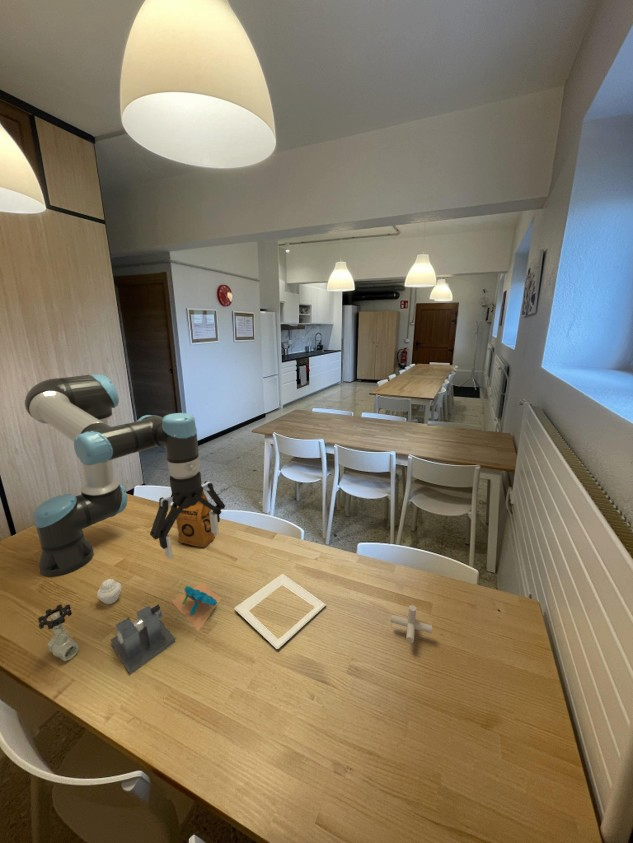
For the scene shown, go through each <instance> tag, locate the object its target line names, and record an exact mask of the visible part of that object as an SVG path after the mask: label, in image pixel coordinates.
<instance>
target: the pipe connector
mask: <svg viewBox="0 0 633 843" xmlns="http://www.w3.org/2000/svg"><path fill="white" fill-rule="evenodd" d="M407 613H408V614H407V618H405V617H401V616H399V615H393V614H391V617H390V623H393V624H395V625H399V626H403V627H406V638H405V640H406V642H407V643H409V644H414V642H415V630H418V631H422V632H425V633H428V634H432V631H433V626H432V624H429V623H424V622H421V621H416V617H417V615H416V614H417V607H416V606H415V605H414V604H411V605H409V606H408V612H407Z"/></svg>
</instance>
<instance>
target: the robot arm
mask: <svg viewBox="0 0 633 843" xmlns="http://www.w3.org/2000/svg"><path fill="white" fill-rule="evenodd" d="M119 400H120V398H119V394H118V391H117V388H116V386H115V384H114V383H113V381H112V380H111V379H110V378H109V377H108V376H106V375H103V374H85V375H76V376H67V377H59V378H58V377H57V378H56V377H55V378H49V379H46V380H45V379H44V380H42V381H40V382H38V383H37V384H35V385H34V386H33V387H31V389H30V390H29V391H28V392H27V394H26V396H25V399H24V406H25V411H26V412H27V413H28V415H30V417H31V418H33V419H34V420H35V421H37V422H39V423H42V424H46V425H47V424H48V425H49V426H51V427H53V429H55V430H57V431H58V432H60V433H61V434H63V436H65V437H66V438H68V439H69V440H71V442H73V447H74V452H75V455H76V456H77V458H79V462H81V463H82V469H83V474H84V482H85V483H83V485H82V486H81V488H80V493H81V494H78V495H76V496H75V495H74V494H71V493H65V494H63V495H61V494H59V495H56V496H53V497H51V498H48V499H47V500H45V501H44V502H42V503H41V504H39V505H38V506H37V507H36V508H35V510H34V511H33V519H34V522H33V524H34V526H35V528H36V533H37V536H38V539H39V544H40V547H41V553H40V554H41V555H40V560H39V563H38V564H39V565H38V567H39V571H40V573H41V575H42V576H44V577H47V578H55V577H56V578H57V577H61V576H65V575H69V574H71V573H73V572H76V571H78V570H79V569H82V568H83V567H85V566H86V565H87V564H89V562H90V561H92V560H93V557H94V555H95V552H94V549H93V546H92V545H91V543H90V542H89V540H88V539H87V537H85V535H84V529H86V528H89V527H91V526H92V525H95V524H97V523H100V522H102V521H104V520H105V521H106V520H107V519H109V518H112V517H115V516H116V515H118V514H121V513H122V512H124V511H125V509H126V508H127V506H128V493H127V492H126V490H127V489H126V488H125V486H124V485H123V484H122V483H121V482H119V480H117V478H115V477H114V469H113V460H116V459H118V458H122V457H124V456H125V457H126V456H128V455H131V454H135V453H139V452H141V451H146V450H148V449H152V448H155V447H159V448H162V449H164V450H165V453H166V461H167V468H168V476H169V484H170V491H171V494H170V496H169V497H166V498H164V497H160V498H159V500H158V504H159V505H158V509H157V512H156V516H155V518H154V521H153V524H152V527H151V529H150V530H151V531H150V533H149V536H151V537H152V539H153V540H158V541H159V546H160V547H161V548H162V549H163V550H164V555H165V556H166V558H168V560H172V559H174V555H173V549H172V541H171V535H169V533H170V531H171V529H172V527H173V526H174V524H175V522H176V519H177V517H178V515H179V514H180V513H181V512H182V510H183V509H187V508H189V507H190V506H194V505H196V503H197V502H198V501H199V502H200V503H202V504H203V505H205V506H206V507H208V508H209V509H211V512H209V514H210V524H211V532H212V533H213V534H214V536H219V534H220V533H219V523H220V521H221V519H220V517H221V516H220V515H221V514H222V510H224V509H225V508H226V505H225V503H224V502H223V500H222V499H221V497H220V496H219V495H218V493H217V492H216V490H215V489H214V485H213V483H211V482H210V481H208V480H205V481H204V483H203V484H202V482H203V481H202V474H201V465H200V457H199V456H200V455H199V444H198V442H199V441H198V434H197V433H198V429H197V426H196V420H195V417H194V415H192V414H191V413H187V412H177V413H176V412H175V413H169V414H167V415H164V416H163V417H162V416H160V415H155V414H154V415H153V414H152V415H151V414H146V415H143V416H141V417H140V418H139V419H137V420H136V421H133V422H128V423H123V424H118V425H114V426H111V425H109V421H108V420H109V419H110V418H111V417H112V416H113V411H112V410H113V409H115V408H116V407H117V406H119V403H120V401H119ZM203 491H205V492H206V493H207V494H208V496H209V497H210V498H211V499H212V501H213V502H214V504H215V505H214V504H212V503H211V502H210V501H209V500H208V501H206V500H205V499H203V498H202V497H200V496H201V494H202V492H203ZM171 503H172V505H171ZM177 506H179V507H178V508H177ZM169 508H170V510H169Z"/></svg>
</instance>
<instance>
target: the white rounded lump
mask: <svg viewBox="0 0 633 843" xmlns="http://www.w3.org/2000/svg"><path fill="white" fill-rule="evenodd" d="M121 591H122V584H121V583H120V582H118V581H115V579H113V578H107V579H106V580H104V581H103V582H102V583H101V584H100V587H99V589H98V590H97V592H96V595H97V598H98V599H99V601H101V602H102V603H104V604H105V605H111V604H114V603H115V602H116V601H117V600H118V599H119V596H120V595H121V594H120V593H121Z"/></svg>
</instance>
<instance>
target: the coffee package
mask: <svg viewBox="0 0 633 843" xmlns="http://www.w3.org/2000/svg"><path fill="white" fill-rule="evenodd" d="M204 491H205V490H203V492H202V494H201V496H200V497H202V498H203V499H205V500H206V501H208V502H209V500H208V498H207V495H206V494H205V492H204ZM178 507H179V506H177V508H178ZM211 511H212V510H211V509H209V508H208V507H206V506H205V505H203V504H202V503H200V502H199V501H198V502H197V503H196V505H194V506H190V507H189V508H187V509H183V510H182V512H181V513H180V514H179V515H178V517H177V519H176V520H175V522H176V527H177V533H178V543H181V544H185V545H190V546H193V547H199V548H206V547H207V546H208V545H209V544H210V543H212V542H213V541H214V539H215V534H213V533H212V532H211V524H210V514H209V512H211Z"/></svg>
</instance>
